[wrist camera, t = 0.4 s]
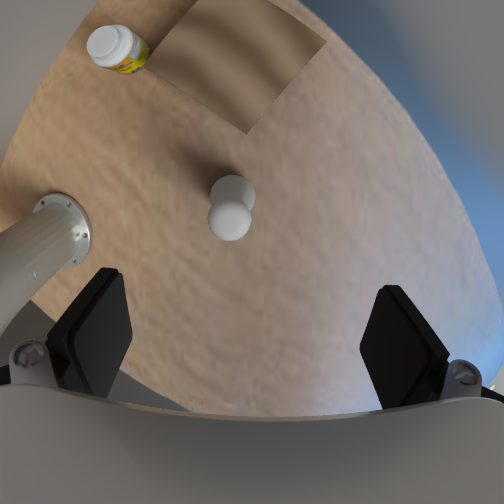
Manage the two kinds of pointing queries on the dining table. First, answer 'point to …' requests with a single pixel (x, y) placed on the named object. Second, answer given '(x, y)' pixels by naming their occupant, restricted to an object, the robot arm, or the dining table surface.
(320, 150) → the dining table surface
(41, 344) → the robot arm
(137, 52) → the supplement bottle
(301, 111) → the dining table surface
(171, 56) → the small wooden table
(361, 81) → the dining table surface
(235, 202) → the salt shaker
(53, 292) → the dining table surface
